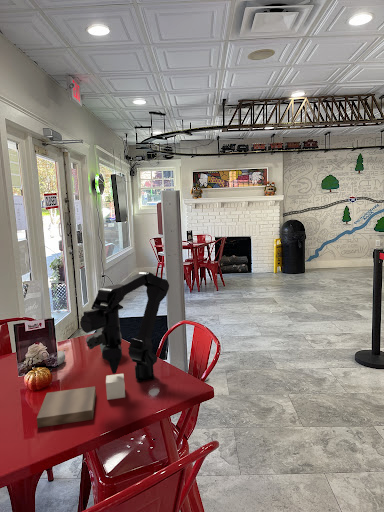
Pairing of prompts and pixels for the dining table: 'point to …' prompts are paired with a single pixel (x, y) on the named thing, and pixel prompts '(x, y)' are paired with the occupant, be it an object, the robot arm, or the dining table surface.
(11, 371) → the dining table surface
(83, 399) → the walnut base
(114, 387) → the cream cube
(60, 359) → the robot toy
